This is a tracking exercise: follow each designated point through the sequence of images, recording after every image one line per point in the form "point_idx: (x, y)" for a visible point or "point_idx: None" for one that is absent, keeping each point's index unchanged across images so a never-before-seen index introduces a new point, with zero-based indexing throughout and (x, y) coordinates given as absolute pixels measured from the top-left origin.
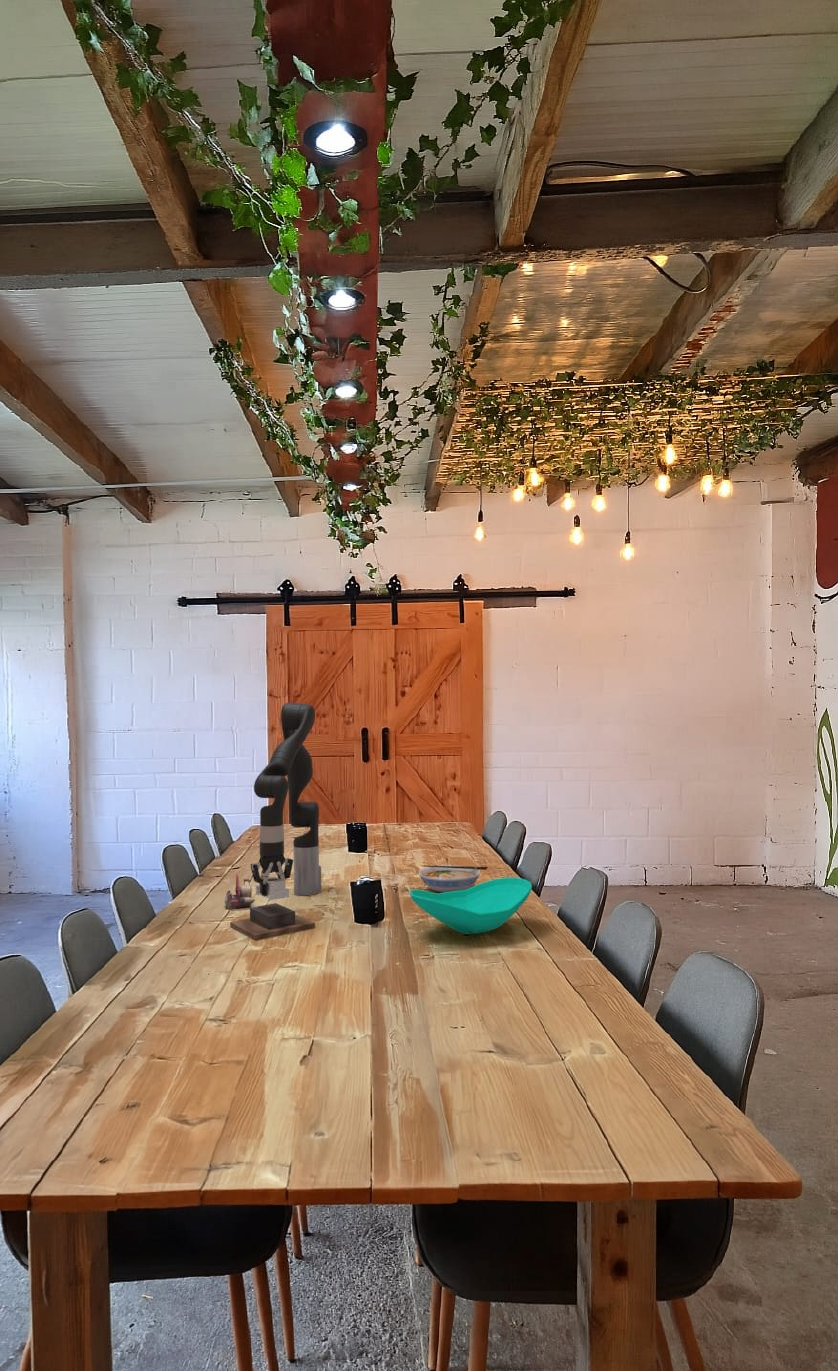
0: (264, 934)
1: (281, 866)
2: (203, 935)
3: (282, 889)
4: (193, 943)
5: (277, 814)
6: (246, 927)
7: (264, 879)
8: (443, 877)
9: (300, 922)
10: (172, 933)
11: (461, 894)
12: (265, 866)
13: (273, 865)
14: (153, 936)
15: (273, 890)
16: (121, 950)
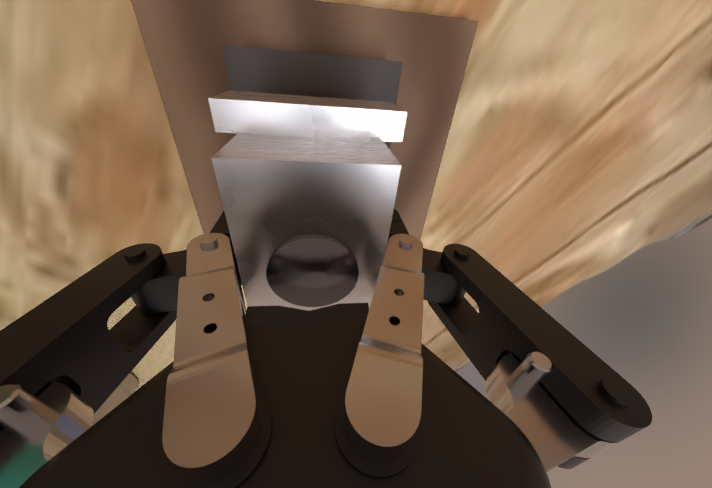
0: (432, 16)
1: (168, 367)
2: (508, 219)
3: (270, 132)
4: (583, 168)
5: None
6: (423, 165)
7: (413, 258)
8: None
9: (206, 59)
10: (528, 275)
11: None
12: (445, 385)
13: (310, 391)
14: (563, 278)
15: (360, 140)
16: (681, 231)
